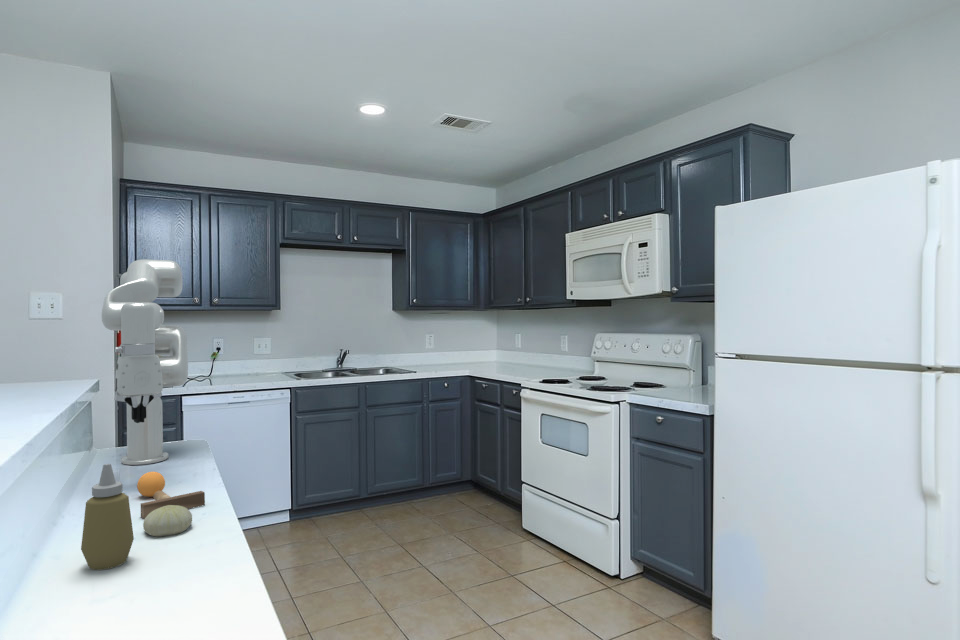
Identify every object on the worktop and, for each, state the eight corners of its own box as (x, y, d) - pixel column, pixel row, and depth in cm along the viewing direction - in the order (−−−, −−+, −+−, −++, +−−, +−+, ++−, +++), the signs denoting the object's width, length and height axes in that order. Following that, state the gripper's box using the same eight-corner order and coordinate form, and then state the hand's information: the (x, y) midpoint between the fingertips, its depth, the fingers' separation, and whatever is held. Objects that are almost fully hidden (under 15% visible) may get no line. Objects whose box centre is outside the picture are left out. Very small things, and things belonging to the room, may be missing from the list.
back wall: (140, 516, 131) (140, 503, 131) (201, 503, 140) (201, 490, 140) (143, 519, 130) (143, 505, 130) (204, 505, 139) (204, 492, 139)
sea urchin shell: (203, 513, 129) (188, 495, 123) (189, 549, 123) (172, 532, 117) (164, 511, 129) (146, 493, 124) (147, 547, 124) (128, 530, 118)
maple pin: (156, 489, 142) (168, 497, 136) (166, 492, 144) (178, 499, 138) (151, 499, 142) (163, 507, 136) (161, 501, 143) (173, 510, 137)
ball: (149, 492, 141) (144, 506, 144) (172, 479, 146) (167, 493, 149) (134, 474, 142) (129, 488, 145) (157, 462, 147) (152, 476, 150)
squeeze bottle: (95, 577, 101) (94, 473, 101) (72, 567, 106) (71, 466, 105) (143, 560, 108) (142, 462, 108) (119, 551, 112) (118, 457, 112)
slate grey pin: (108, 507, 138) (108, 470, 138) (120, 505, 139) (120, 469, 139) (107, 510, 136) (106, 473, 136) (119, 508, 137) (118, 472, 137)
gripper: (108, 353, 144) (109, 428, 144) (174, 350, 155) (175, 420, 155) (100, 351, 149) (101, 424, 150) (164, 348, 160) (165, 416, 160)
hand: (139, 421), depth 152 cm, fingers closed
